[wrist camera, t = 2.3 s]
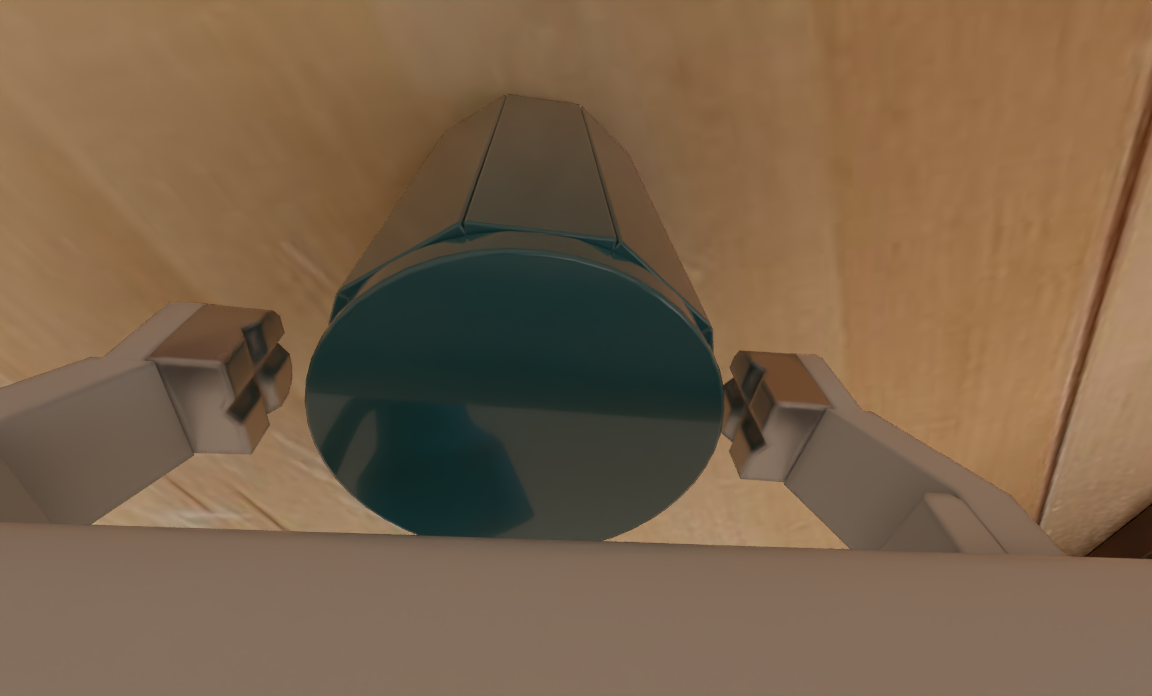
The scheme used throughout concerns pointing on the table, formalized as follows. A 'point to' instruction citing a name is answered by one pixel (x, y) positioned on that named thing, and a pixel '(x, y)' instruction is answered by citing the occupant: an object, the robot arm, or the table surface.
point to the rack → (1130, 540)
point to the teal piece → (518, 342)
